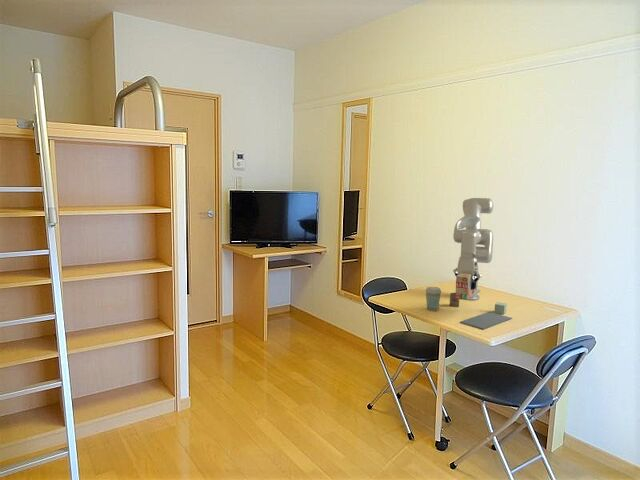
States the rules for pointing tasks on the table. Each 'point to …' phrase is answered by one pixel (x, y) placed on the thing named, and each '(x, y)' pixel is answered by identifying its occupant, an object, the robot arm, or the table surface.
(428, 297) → the coffee cup
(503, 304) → the sage cube
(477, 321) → the charcoal mat
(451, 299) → the walnut cylinder
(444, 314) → the table surface
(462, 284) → the stack of blocks
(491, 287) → the table surface
